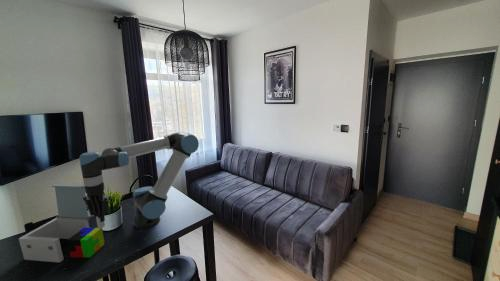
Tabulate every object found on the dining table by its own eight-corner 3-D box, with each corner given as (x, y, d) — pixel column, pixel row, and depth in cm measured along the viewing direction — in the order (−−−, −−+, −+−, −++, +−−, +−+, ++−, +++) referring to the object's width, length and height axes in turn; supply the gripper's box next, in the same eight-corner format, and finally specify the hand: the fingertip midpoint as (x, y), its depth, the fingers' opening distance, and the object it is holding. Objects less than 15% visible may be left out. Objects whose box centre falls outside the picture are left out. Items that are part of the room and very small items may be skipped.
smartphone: (100, 205, 153) (94, 215, 140) (100, 206, 153) (94, 216, 140) (88, 207, 151) (81, 217, 137) (89, 208, 151) (81, 218, 137)
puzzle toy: (87, 243, 113) (84, 227, 111) (104, 243, 112) (101, 227, 110) (71, 257, 103) (67, 240, 101) (90, 257, 102) (86, 240, 100)
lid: (84, 220, 113) (88, 218, 115) (80, 186, 110) (84, 185, 113) (56, 219, 115) (60, 217, 117) (51, 185, 112) (56, 184, 115)
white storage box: (94, 237, 118) (90, 216, 115) (60, 263, 99) (54, 238, 96) (62, 235, 120) (57, 214, 117) (23, 260, 101) (16, 236, 99)
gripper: (112, 181, 102) (118, 223, 106) (88, 180, 103) (96, 222, 108) (99, 187, 94) (107, 232, 99) (74, 186, 96) (83, 230, 100)
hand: (101, 227), depth 103 cm, fingers closed
